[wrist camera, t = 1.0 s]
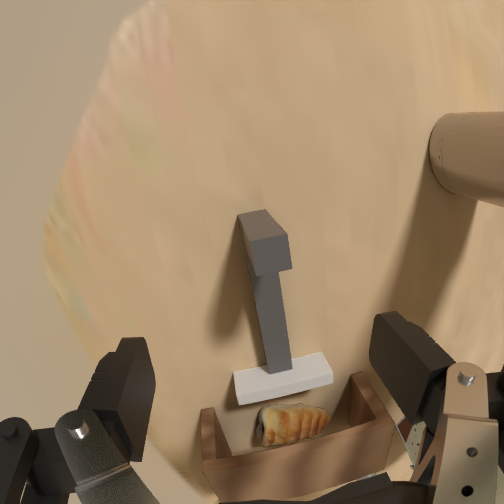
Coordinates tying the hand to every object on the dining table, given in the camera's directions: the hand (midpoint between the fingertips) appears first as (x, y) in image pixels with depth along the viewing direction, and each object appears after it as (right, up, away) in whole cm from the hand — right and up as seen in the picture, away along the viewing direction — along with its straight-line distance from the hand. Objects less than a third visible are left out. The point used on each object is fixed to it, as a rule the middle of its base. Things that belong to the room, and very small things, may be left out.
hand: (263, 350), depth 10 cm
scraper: (+1, -2, +21) cm, 21 cm away
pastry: (+4, -18, +27) cm, 32 cm away
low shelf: (+4, -18, +26) cm, 32 cm away
